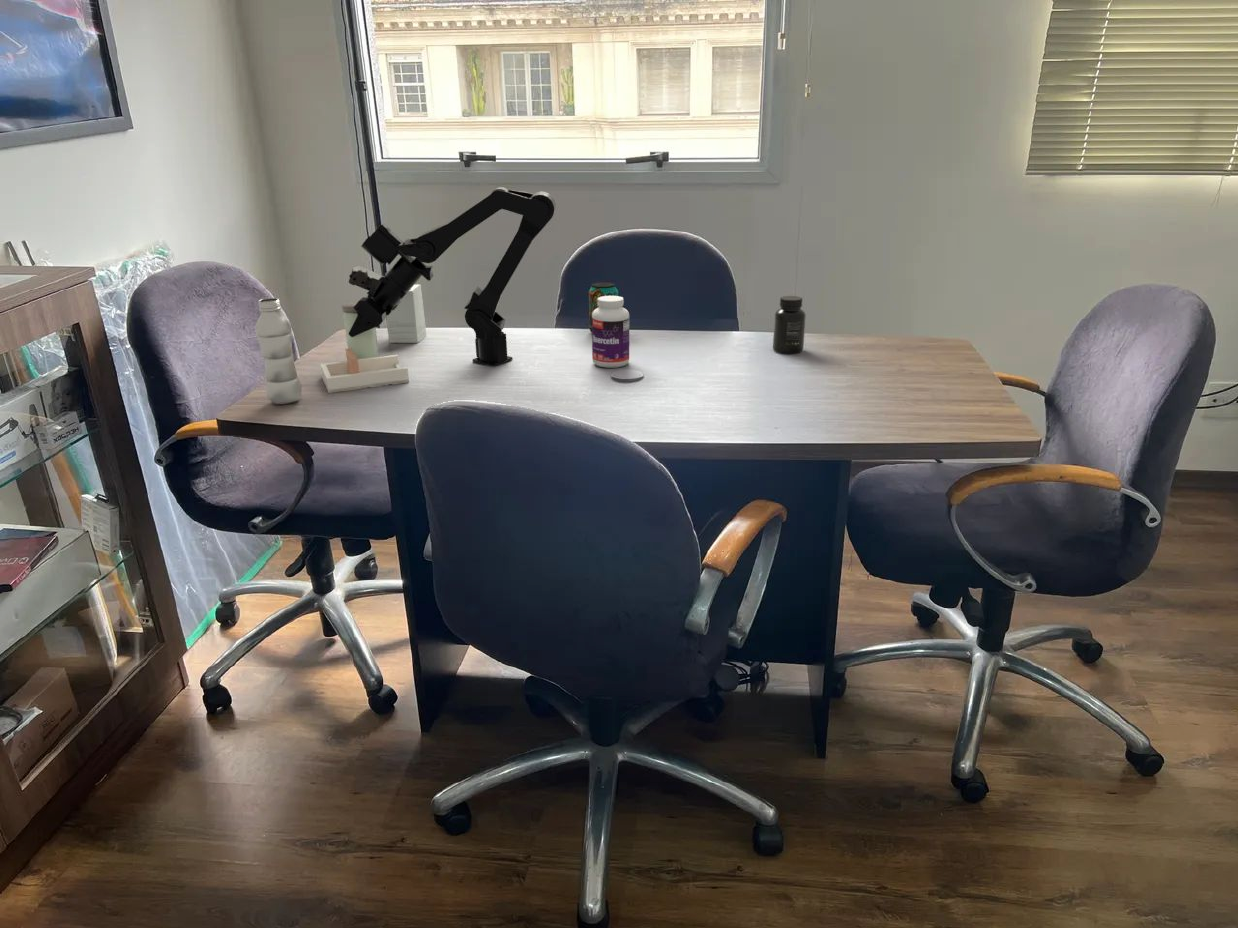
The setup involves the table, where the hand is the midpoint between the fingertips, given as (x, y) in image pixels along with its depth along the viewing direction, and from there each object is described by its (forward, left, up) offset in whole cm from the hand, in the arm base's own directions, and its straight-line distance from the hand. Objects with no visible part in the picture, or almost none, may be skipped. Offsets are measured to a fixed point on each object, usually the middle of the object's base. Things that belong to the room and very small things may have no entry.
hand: (354, 331), depth 193 cm
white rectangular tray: (-11, +7, -7) cm, 15 cm away
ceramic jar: (-1, -1, -7) cm, 7 cm away
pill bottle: (-47, -31, -7) cm, 56 cm away
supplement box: (+6, -20, -7) cm, 22 cm away
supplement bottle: (-74, -62, -7) cm, 96 cm away
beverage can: (-30, -51, -7) cm, 59 cm away
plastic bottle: (-10, +25, -7) cm, 28 cm away
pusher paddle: (-10, +9, -6) cm, 15 cm away
